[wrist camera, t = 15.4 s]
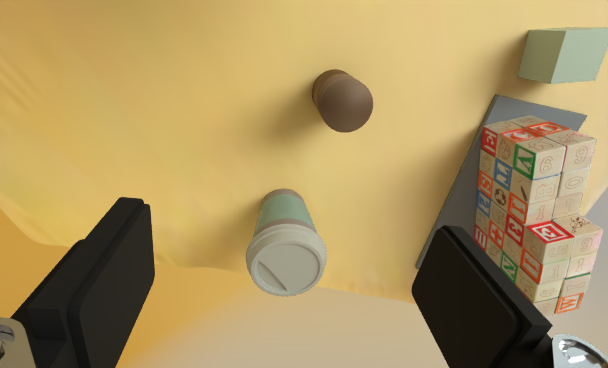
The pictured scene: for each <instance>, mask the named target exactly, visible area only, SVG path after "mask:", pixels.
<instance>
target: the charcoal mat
mask: <svg viewBox="0 0 608 368" xmlns="http://www.w3.org/2000/svg"><path fill="white" fill-rule="evenodd" d="M528 115H532V116H535V117H538V118H541V119H544V120H547V121H549V122H553V123H556V124H559V125H561V126H564V127H567V128H570V129H571V130H573V131H576V132H578V130H579V128H580V127H581V125H582V123H583V122H584V120H585V119H586V117H587V115H584V114H580V113H575V112H571V111H566V110H562V109H557V108H553V107H548V106H544V105H539V104H535V103H530V102H526V101H521V100H517V99H512V98H508V97H503V96H499V95H495V97H494V99H493V101H492V103H491V105H490V108H489V110H488V112H487V114H486V116H485V118H484V120H483V123H482V125H481V127H480V129H479V131H478V133H477V135H476V137H475V140H474V142H473V144H472V146H471V148H470V150H469V152H468V155H467V157H466V159H465V161H464V163H463V165H462V167H461V170H460V172H459V174H458V176H457V178H456V180H455V182H454V184H453V187H452V189H451V191H450V193H449V195H448V197H447V199H446V202H445V204H444V206H443V208H442V210H441V212H440V214H439V216H438V219H437V221H436V223H435V225H434V227H433V229H432V231H431V234H430V236H429V238H428V240H427V242H426V244H425V246H424V249H423V251H422V253H421V255H420V257H419V259H418V261H417V263H416V266H415V267H416V268H417V269H420V266H421V264H422V262H423V259H424V257H425V255H426V252H427V250H428V248H429V245H430V243H431V241H432V238H433V236H434V234H435V232H436V230H437V229H440V228H441V227H442V226H443V225H450V226H460V227H462V228H463V229H464V230H465V231H466V232H467V233H468V234H469V235H470V236H471V237H472V238H473V239H474V229H475V224H476V211H477V196H478V177H479V170H480V168H479V164H480V151H481V149H482V132H483V126H485V125H488V124H492V123H496V122H501V121H507V120H511V119H515V118H519V117H524V116H528Z"/></svg>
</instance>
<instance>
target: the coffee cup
mask: <svg viewBox="0 0 608 368" xmlns="http://www.w3.org/2000/svg"><path fill="white" fill-rule="evenodd" d="M326 259H327V251H326V246H325V244H324V242H323V240H322V239H321V237H320V236H319V235H318V234H317V231H316V229H315V227H314V224H313V222H312V219H311V217H310V215H309V212H308V210H307V208H306V206H305V203H304V201H303V199H302V197H301V196H300V195H299V194H298V193H296V192H295V191H292V190H289V189H278V190H275V191H273V192H271V193H269V194H268V195H267V196H266V197H265V198H264V200H263V202H262V206H261V209H260V213H259V217H258V221H257V224H256V228H255V232H254V236H253V239H252V241H251V243H250V244H249V246H248V249H247V252H246V263H247V268H248V271H249V273H250V275H251V277H252V279H253V281H254V283H255V284H256V285H257V286H258V287H259V288H260V289H262V290H263V291H265V292H267V293H269V294H272V295H276V296H294V295H298V294H301V293H304V292H306V291H308V290H309V289H311V288H312V287H314V286H315V285H316V284H317V283H318V281H319V280H320V279H321V277H322V275H323V271H324V268H325V265H326Z"/></svg>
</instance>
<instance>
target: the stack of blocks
mask: <svg viewBox="0 0 608 368" xmlns="http://www.w3.org/2000/svg"><path fill="white" fill-rule="evenodd" d="M596 141H597V140H596V139H595V138H592V137H589V136H587V135H584V134H581V133H579V132H576V131H573V130H571V129H570V128H567V127H564V126H561V125H559V124H556V123H553V122H549V121H547V120H544V119H541V118H538V117H535V116H532V115H528V116H524V117H519V118H515V119H511V120H507V121H501V122H496V123H492V124H488V125H485V126H483V132H482V149H481V151H480V164H479V168H480V170H479V177H478V196H477V211H476V224H475V229H474V241H475V242H476V243H477V244H478V245H479V246H480V247H481V248H482V249H483V250H484V251H485V252H486V254H487V255H488V256H489V257H490V258H491V259H492V260H493V261H494V262H495V263H496V264H497V266H498V267H499V268H500V269H501V270H502V271H503V272H504V273H505V274H506V275H507V276H508V277H509V279H510V280H511V281H512V282H513V283H514V284H515V285H516V286H517V287H518V288H519V289H520V291H521V292H522V293H523V294H524V295H525V296H526V297H527V298H528V299H529V300H530V301H531V302H532V304H533V305H534V306H535V307H536V308H537V309H538V310H539V311H540V312H541V313H542V314H543V316H544V317H545V316H550V315H553V314H554V313H555V314H559V313H562V312H566V311H571V310H575V309H578V308H579V307H580V304H581V300H582V298H583V294H584V292H586V290H587V287H588V283H589V280H590V277H591V273H590V272H591V271H592V269H593V266H594V262H595V258H596V255H597V252H596V251H597V250H598V247H599V243H600V240H601V236H602V233H603V229H601V228H600V227H598V226H596V225H595V224H593V223H592V222H590V221H588V220H587V219H586V218H584V217H583V216H581V215H580V214H578V212H579V208H580V204H581V200H582V196H583V191H584V190H585V186H586V182H587V179H588V175H589V171H590V164H591V160H592V157H593V153H594V149H595V145H596Z"/></svg>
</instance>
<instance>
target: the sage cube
mask: <svg viewBox="0 0 608 368" xmlns="http://www.w3.org/2000/svg"><path fill="white" fill-rule="evenodd" d="M607 47H608V28H598V27H567V28H552V29H537V30H529V33H528V37H527V41H526V45H525V49H524V53H523V57H522V61H521V65H520V69H519V73H518V77H520V78H525V79H529V80H534V81H539V82H543V83H548V84H557V83H570V82H583V81H595V80H596V77H597V75H598V72H599V69H600V66H601V63H602V61H603V58H604V55H605V52H606V50H607Z"/></svg>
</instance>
